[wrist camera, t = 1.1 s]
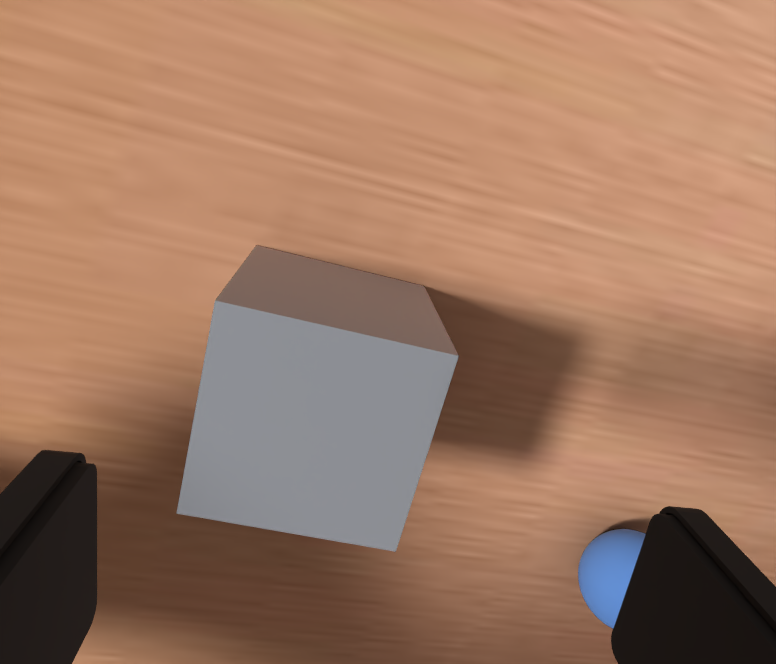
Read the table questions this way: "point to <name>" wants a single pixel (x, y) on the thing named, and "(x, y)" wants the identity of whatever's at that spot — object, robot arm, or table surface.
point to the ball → (608, 571)
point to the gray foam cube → (316, 401)
